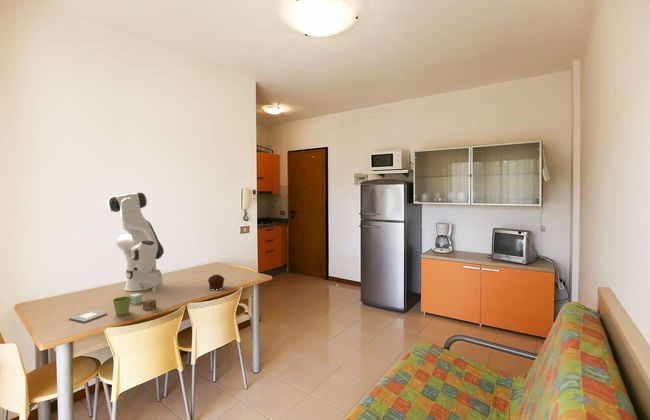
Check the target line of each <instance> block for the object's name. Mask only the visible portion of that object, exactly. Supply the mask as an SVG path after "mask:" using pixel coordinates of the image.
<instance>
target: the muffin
mask: <svg viewBox="0 0 650 420" xmlns="http://www.w3.org/2000/svg"><path fill="white" fill-rule="evenodd" d="M224 281H225V278H224V277H223V276H222V275H221V274H212V275H210V277H208V279H207V282H208V285H209V286H208V287H209V290H210V289H214V290H216V289H220V288H222V287H224ZM222 289H223V288H222ZM214 290H213V291H214ZM216 291H217V290H216Z"/></svg>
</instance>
